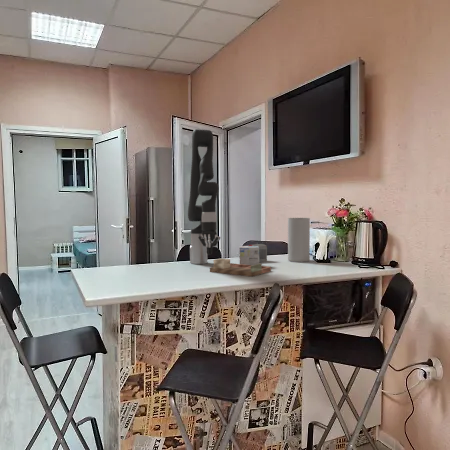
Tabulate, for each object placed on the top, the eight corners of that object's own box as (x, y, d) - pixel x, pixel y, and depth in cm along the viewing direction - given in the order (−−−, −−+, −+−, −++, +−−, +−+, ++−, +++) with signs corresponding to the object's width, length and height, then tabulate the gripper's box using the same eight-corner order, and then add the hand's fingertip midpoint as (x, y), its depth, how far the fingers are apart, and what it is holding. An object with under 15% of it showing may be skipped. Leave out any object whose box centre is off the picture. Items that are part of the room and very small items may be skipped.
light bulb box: (259, 265, 220) (259, 245, 219) (259, 267, 213) (259, 247, 213) (240, 265, 221) (239, 245, 220) (239, 267, 214) (239, 247, 214)
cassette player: (242, 263, 229) (242, 245, 228) (240, 262, 231) (240, 245, 230) (266, 261, 235) (266, 244, 234) (264, 260, 237) (264, 243, 237)
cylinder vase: (313, 260, 235) (313, 218, 233) (302, 263, 225) (302, 218, 224) (295, 258, 243) (295, 217, 241) (283, 261, 233) (283, 218, 232)
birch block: (213, 267, 200) (213, 259, 200) (220, 266, 205) (220, 258, 205) (223, 268, 197) (223, 260, 196) (230, 267, 202) (230, 259, 201)
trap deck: (209, 271, 200) (209, 261, 200) (229, 266, 215) (229, 257, 214) (252, 276, 186) (252, 265, 186) (270, 270, 201) (270, 261, 200)
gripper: (194, 221, 205) (195, 254, 205) (215, 221, 197) (215, 256, 198) (203, 220, 211) (203, 253, 212) (223, 220, 203) (224, 254, 204)
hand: (209, 254), depth 205 cm, fingers closed
